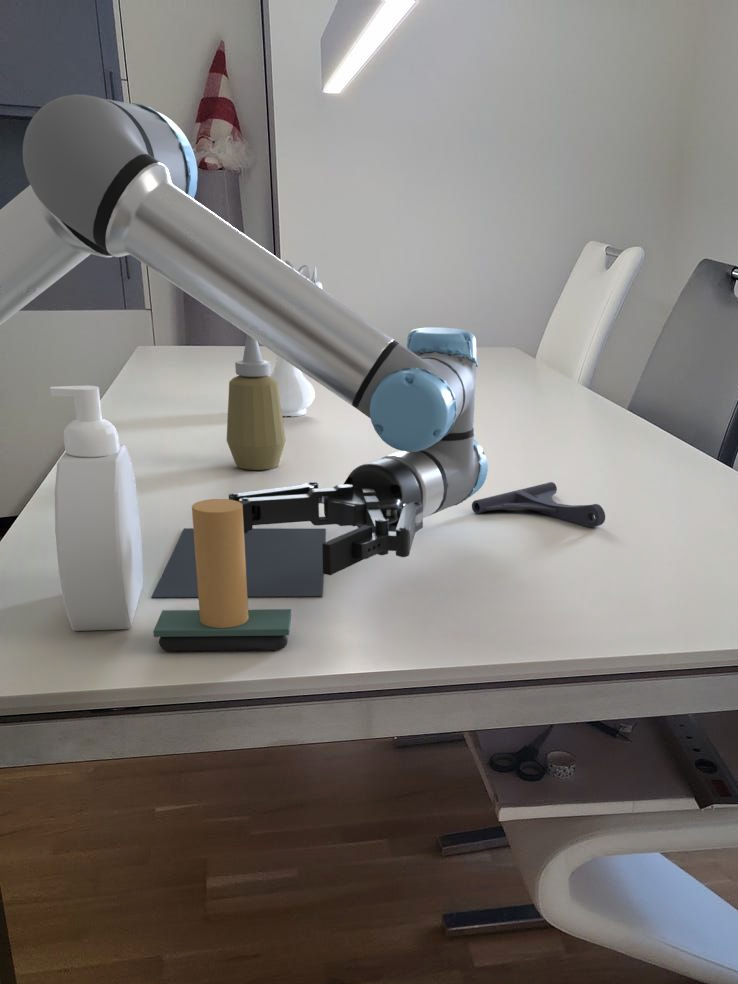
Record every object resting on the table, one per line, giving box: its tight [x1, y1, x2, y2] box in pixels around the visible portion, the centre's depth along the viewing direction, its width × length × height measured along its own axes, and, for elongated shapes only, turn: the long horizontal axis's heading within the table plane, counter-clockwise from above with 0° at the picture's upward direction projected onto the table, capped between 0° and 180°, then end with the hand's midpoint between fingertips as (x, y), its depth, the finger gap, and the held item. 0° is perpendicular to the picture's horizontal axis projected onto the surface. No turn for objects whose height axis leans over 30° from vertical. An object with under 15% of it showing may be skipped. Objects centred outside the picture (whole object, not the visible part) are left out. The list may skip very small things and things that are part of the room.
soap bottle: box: [49, 385, 144, 632], centre depth 91 cm, size 16×5×20 cm, turn 12°
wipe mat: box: [151, 527, 327, 599], centre depth 109 cm, size 16×22×1 cm
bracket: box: [471, 481, 606, 528], centre depth 128 cm, size 14×15×3 cm
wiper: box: [153, 498, 293, 652], centre depth 86 cm, size 11×5×12 cm, turn 97°
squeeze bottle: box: [226, 334, 287, 471], centre depth 142 cm, size 8×8×18 cm
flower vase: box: [269, 259, 323, 417], centre depth 176 cm, size 13×18×25 cm
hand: (261, 545), depth 90 cm, fingers open, 13 cm apart
